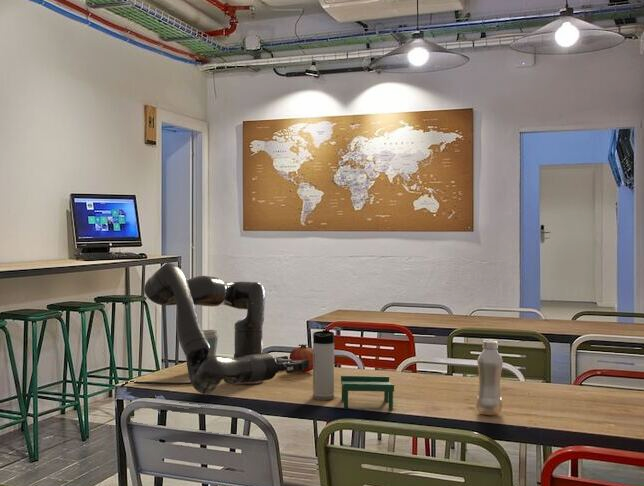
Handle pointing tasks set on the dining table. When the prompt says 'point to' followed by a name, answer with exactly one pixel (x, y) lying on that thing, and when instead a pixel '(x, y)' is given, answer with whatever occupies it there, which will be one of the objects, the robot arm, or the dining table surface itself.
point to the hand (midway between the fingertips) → (297, 361)
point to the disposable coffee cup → (212, 340)
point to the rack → (367, 387)
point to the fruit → (303, 356)
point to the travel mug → (323, 365)
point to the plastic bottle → (489, 379)
